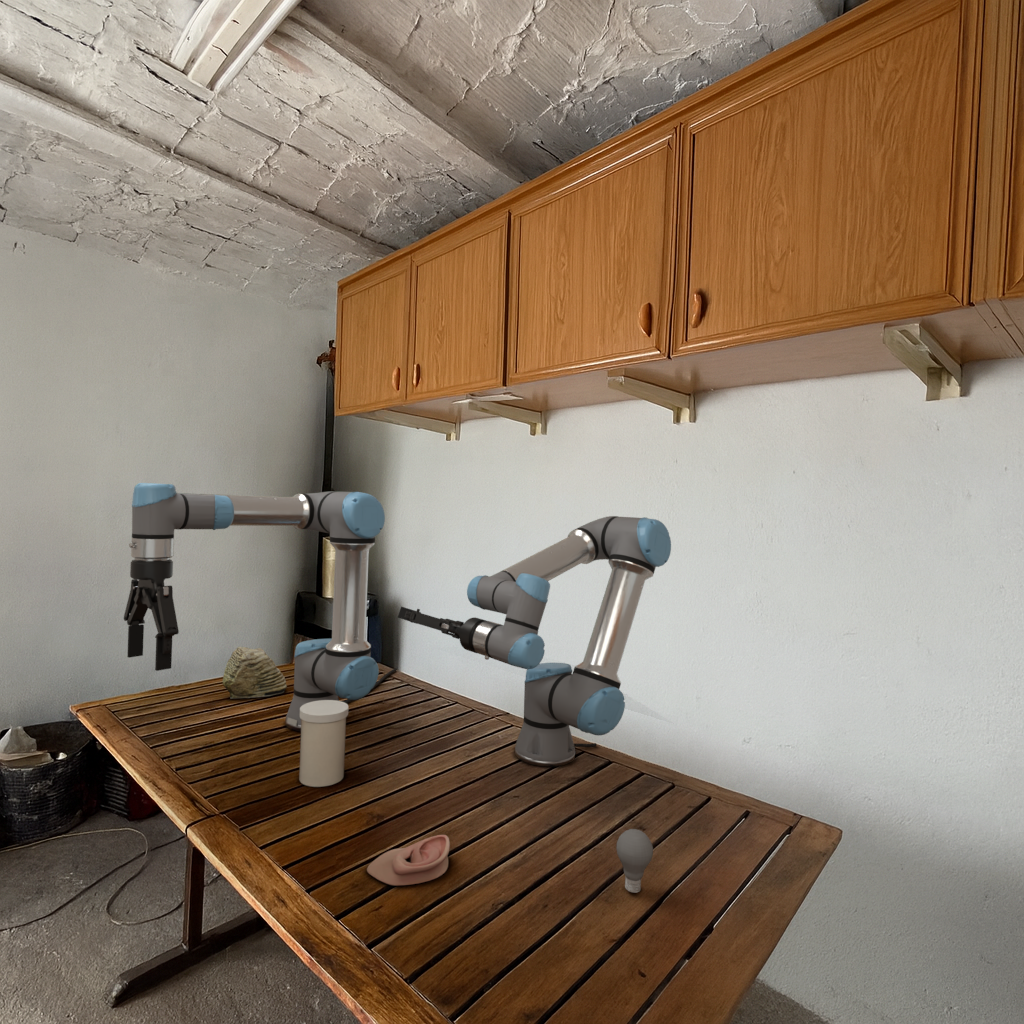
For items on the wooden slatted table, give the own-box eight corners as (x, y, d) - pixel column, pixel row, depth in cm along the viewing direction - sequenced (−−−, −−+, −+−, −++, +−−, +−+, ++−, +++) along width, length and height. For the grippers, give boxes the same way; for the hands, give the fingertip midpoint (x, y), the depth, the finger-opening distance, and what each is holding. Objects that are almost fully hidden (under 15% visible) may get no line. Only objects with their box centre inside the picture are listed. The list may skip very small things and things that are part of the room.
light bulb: (610, 879, 108) (613, 822, 108) (644, 879, 109) (647, 822, 109) (619, 902, 102) (622, 840, 102) (655, 901, 103) (658, 840, 103)
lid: (309, 706, 148) (309, 698, 148) (353, 708, 148) (354, 701, 148) (292, 721, 138) (292, 714, 138) (340, 724, 137) (340, 716, 137)
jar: (307, 767, 148) (310, 701, 148) (349, 769, 148) (351, 703, 147) (292, 785, 138) (295, 715, 138) (336, 788, 138) (339, 717, 138)
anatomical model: (359, 856, 105) (387, 822, 116) (358, 879, 105) (386, 843, 116) (435, 869, 102) (456, 833, 114) (434, 893, 103) (455, 855, 114)
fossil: (218, 695, 195) (220, 647, 195) (278, 685, 208) (279, 640, 207) (228, 703, 189) (230, 653, 188) (289, 692, 201) (290, 645, 201)
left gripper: (108, 554, 134) (104, 654, 134) (159, 565, 118) (155, 678, 119) (146, 552, 140) (143, 648, 140) (199, 563, 124) (195, 671, 124)
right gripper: (439, 644, 132) (377, 623, 146) (511, 662, 150) (450, 641, 164) (449, 609, 133) (387, 591, 147) (520, 631, 151) (459, 613, 165)
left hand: (148, 662), depth 129 cm, fingers open, 13 cm apart
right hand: (420, 618), depth 155 cm, fingers open, 13 cm apart
